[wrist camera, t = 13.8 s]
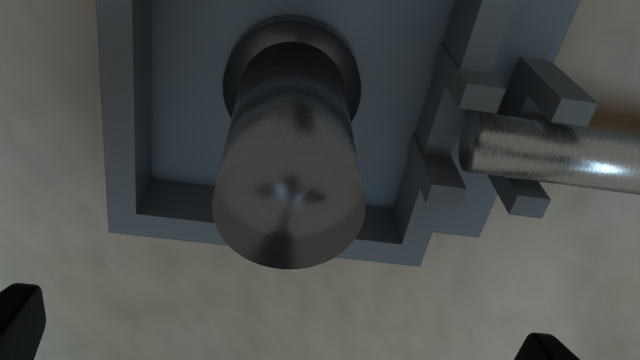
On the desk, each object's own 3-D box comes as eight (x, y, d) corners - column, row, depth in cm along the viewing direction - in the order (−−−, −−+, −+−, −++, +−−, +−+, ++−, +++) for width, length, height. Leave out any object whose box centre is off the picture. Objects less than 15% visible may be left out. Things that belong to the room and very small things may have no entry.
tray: (475, 229, 24) (505, 296, 20) (130, 187, 22) (98, 253, 19) (592, -53, 18) (666, -26, 14) (122, -144, 16) (71, -139, 12)
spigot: (344, 147, 21) (366, 294, 14) (221, 130, 20) (182, 276, 13) (371, 26, 18) (414, 135, 11) (231, 4, 18) (189, 105, 11)
